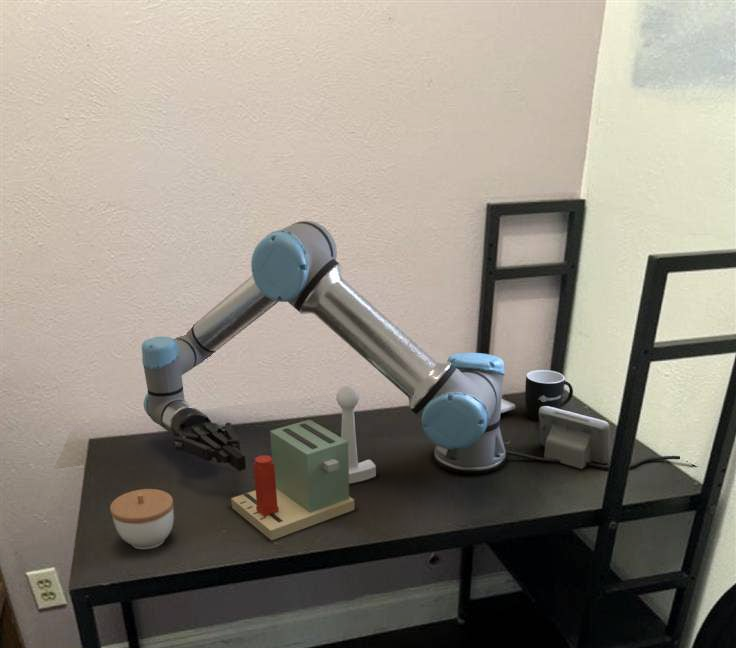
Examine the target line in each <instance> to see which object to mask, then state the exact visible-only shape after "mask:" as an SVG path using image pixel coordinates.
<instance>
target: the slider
mask: <svg viewBox="0 0 736 648" xmlns="http://www.w3.org/2000/svg"><path fill="white" fill-rule="evenodd" d="M252 465H253V466H252V467H253V476H254V486H255V490H256V499H257V506H256V510H257V511H258V512H259V513H260V514H262V515H263V516H267V515H269V514H272V513H275V512H278V511H279V507H278V506H277V494H276V481H275V468H274V463H273V462H272V456H270V455H264V454H263V455H259V456H257V457H255V458H254V462H253V463H252Z"/></svg>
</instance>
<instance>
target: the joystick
mask: <svg viewBox="0 0 736 648" xmlns="http://www.w3.org/2000/svg"><path fill="white" fill-rule="evenodd" d="M335 400H336V402H337V404H338V406H340V408H341V428H340V429H341V433H340V437H341V438H343V439H344V440H346V441H348V464H349V484H355V483H359V482H364V481H367V480H370V479H373V478H375V477H376V476H377V465H376V464H375V463H374V462H373V461H372V459H366V460H363V461H361V462H359V461H358V460H359V458H358V449H357V448H358V446H357V435H356V422H355V407H356V406H357V405H358V403H359V400H360V393H359V392H358V390H357V389H356V388H355V387H353V386H352V385H351V386H350V385H345V386H342V387H340V388H339V390H337V392H336V397H335Z"/></svg>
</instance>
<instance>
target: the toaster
mask: <svg viewBox="0 0 736 648" xmlns="http://www.w3.org/2000/svg"><path fill="white" fill-rule="evenodd" d="M269 436H270V437H269V438H270V449H271V451H270V452H271V458H272V462H273V463H274V468H275V481H276V494H277V506H278V507H279V511H278V512H275V513H272V514H269V515H267V516H263V515H262V514H260V513H259V512H258V511H257V510H256V506H257V499H256V489H254V490H252V491H249V492H246V493H243V494H240V495H237V496H234V497H231V498H230V500H231V509H233V510H234V511H235V512H236V513H237V514H239V515H240V516H241V517H242V518H243V519H244V520H246V521H247V522H248V523H249V524H251V525H252V526H253V527H254V528H256V529H257V530H258V531H259V532H260V533H261V534H263V535H264V536H265V537H266V538H268V540H270V541H275V540H277V539H280V538H283V537H285V536H288V535H290V534H293V533H296V532H299V531H301V530H305V529H306V528H309V527H312V526H314V525H318V524H321V523H323V522H325V521H329V520H331V519H334V518H336V517H339V516H341V515H342V516H343V515H344V514H347V513H349V512H352V511H355V509H356V507H355V505H356V504H355V499H354V498H352V497H351V496H350V483H349V464H348V441H346V440H344V439H343V438H341V436H339V435H337V434H336V433H334V432H332V431H330V430H329V429H327V428H325V427H324V426H322V425H320V424H318V423H317V422H315V421H313V420H311V419H307V420H302V421H300V422H297V423H293V424H289V425H285V426H282V427H279V428H276V429H275V428H274V429H272V430H269Z"/></svg>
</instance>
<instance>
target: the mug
mask: <svg viewBox="0 0 736 648" xmlns="http://www.w3.org/2000/svg"><path fill="white" fill-rule="evenodd" d="M565 385H566V386H567V387H568V391H569V392H568V395H567V397H566V399H565V400H563V401H562V398H563V395H564V394H563V393H564V390H565V389H564V388H565ZM524 388H525V389H524V398H525V400H524V401H525V411H526V415H527V417H528V418H530V419H531V420H533V421H536V422H540V421H539V409H540V407H542V406H549V407H553V408H557V409H560V408H562V407H564V406H565V405H567V404H568V403H569V402H570V401H571V400H572V398H573V395H574V387H573V386H572V384H571V383H570V382H568V381H567V380H566V378H565V376H564V374H562V373H560V372H558V371H555V370H547V369H537V370H532V371H529V372H528V373H526V377H525V387H524Z"/></svg>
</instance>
